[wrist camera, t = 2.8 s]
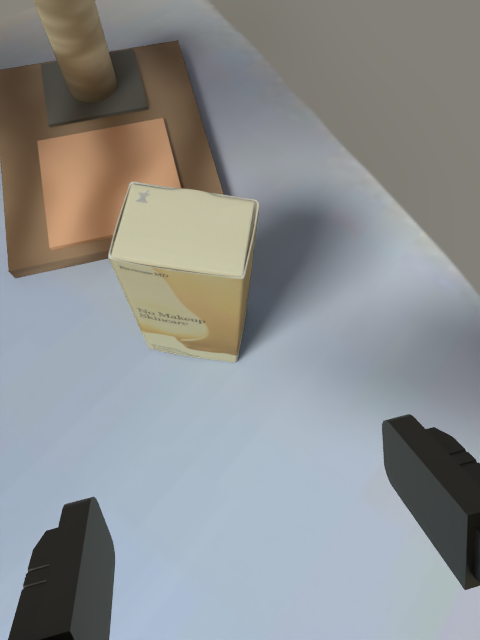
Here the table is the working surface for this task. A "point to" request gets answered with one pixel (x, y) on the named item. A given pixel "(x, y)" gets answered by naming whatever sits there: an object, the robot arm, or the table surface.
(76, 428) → the table surface
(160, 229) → the skincare box
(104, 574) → the robot arm
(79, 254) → the board
